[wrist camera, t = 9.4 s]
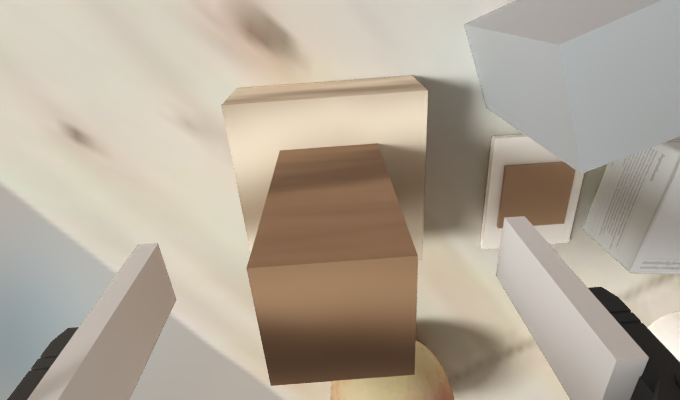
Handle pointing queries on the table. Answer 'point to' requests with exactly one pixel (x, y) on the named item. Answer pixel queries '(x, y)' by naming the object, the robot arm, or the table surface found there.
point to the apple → (400, 383)
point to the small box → (640, 210)
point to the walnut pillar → (334, 269)
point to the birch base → (330, 135)
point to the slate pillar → (583, 74)
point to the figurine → (668, 332)
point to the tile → (528, 190)
